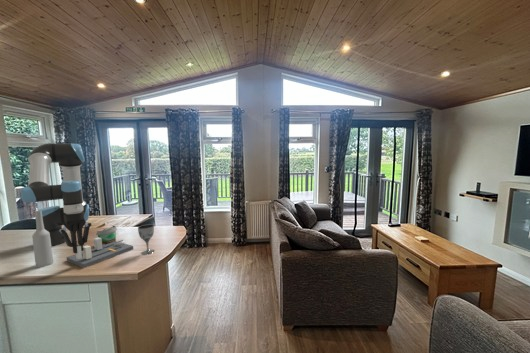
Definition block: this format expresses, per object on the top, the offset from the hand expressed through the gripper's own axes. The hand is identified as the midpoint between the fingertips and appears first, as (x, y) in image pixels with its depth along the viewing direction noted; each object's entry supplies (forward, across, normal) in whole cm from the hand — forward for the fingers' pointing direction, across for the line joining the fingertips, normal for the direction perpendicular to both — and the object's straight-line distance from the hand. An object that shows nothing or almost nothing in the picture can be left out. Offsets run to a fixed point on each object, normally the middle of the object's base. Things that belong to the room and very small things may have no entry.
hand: (79, 258), depth 116 cm
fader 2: (+1, +13, +8) cm, 15 cm away
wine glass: (+4, +26, -17) cm, 31 cm away
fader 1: (+1, +4, 0) cm, 4 cm away
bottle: (+4, -8, +19) cm, 21 cm away
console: (+4, +12, +4) cm, 13 cm away
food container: (+4, +24, +17) cm, 29 cm away
